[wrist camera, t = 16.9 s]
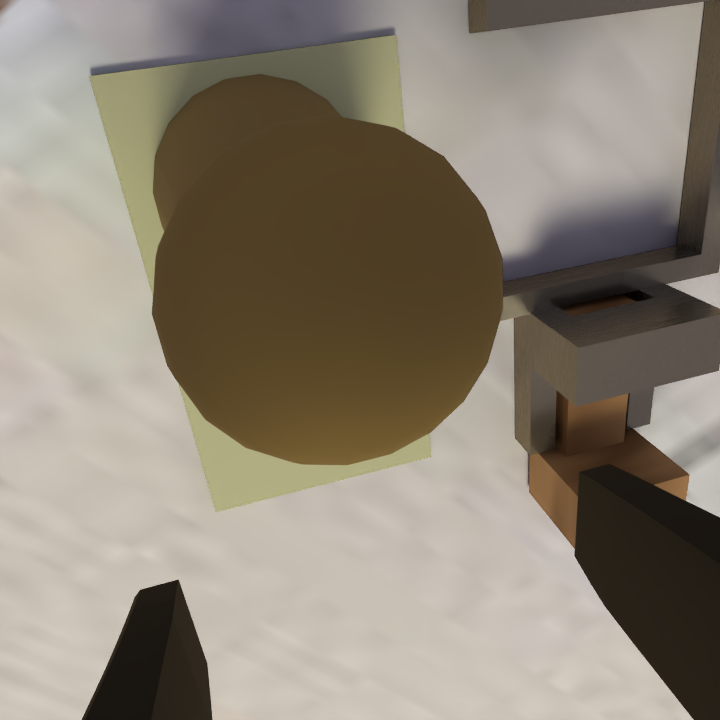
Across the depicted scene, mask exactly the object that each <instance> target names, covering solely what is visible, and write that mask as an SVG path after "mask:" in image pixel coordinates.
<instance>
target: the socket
mask: <svg viewBox="0 0 720 720" xmlns="http://www.w3.org/2000/svg"><path fill="white" fill-rule="evenodd" d="M704 1H705V6H704V15H703V24H702V32H701V41H700V50H699V58H698V67H697V75H696V84H695V93H694V101H693V110H692V119H691V127H690V136H689V144H688V153H687V162H686V170H685V179H684V188H683V196H682V205H681V213H680V222H679V231H678V239H677V246H672V247H668V248H663V249H658V250H653V251H649V252H644V253H639V254H634V255H630V256H625V257H620V258H615V259H611V260H606V261H601V262H596V263H592V264H587V265H582V266H578V267H573V268H568V269H563V270H559V271H554V272H549V273H544V274H540V275H535V276H530V277H525V278H521V279H516V280H511V281H506V282H503V310H502V314H501V318H500V321H502V320H506V319H511V318H514V342H515V439H516V440H517V441H518V442H519V443H520V444H521V445H522V447H523V448H524V449H525V450H526V451H527V452H528V453H529V454H530V455H534V454H537V453H541V452H545V451H549V450H553V449H555V428H556V392H557V391H558V392H560V393H561V394H562V395H563V396H564V397H565V398H566V399H568V400H569V401H570V402H571V403H572V404H573V405H574V406H576V407H577V406H581V405H585V404H589V403H593V402H597V401H601V400H605V399H609V398H613V397H617V396H621V395H625V394H628V402H627V413H626V424H625V429H626V430H628V429H632V428H636V427H640V426H643V425H647V424H650V417H651V408H652V399H653V390H654V387H656V386H660V385H664V384H668V383H672V382H676V381H680V380H684V379H688V378H692V377H696V376H700V375H704V374H708V373H712V372H716V371H719V365H720V309H719V308H717V307H714V306H712V305H710V304H708V303H706V302H703V301H701V300H699V299H697V298H695V297H692V296H690V295H688V294H686V293H684V292H681V291H679V290H677V289H675V288H673V287H670V286H668V285H666V284H668V283H673V282H677V281H682V280H686V279H691V278H695V277H700V276H704V275H709V274H713V273H718V271H719V265H720V0H468V5H469V33H476V32H484V31H492V30H499V29H507V28H514V27H521V26H529V25H536V24H543V23H550V22H558V21H565V20H572V19H580V18H587V17H594V16H602V15H609V14H616V13H624V12H631V11H638V10H646V9H653V8H660V7H667V6H675V5H682V4H689V3H697V2H704ZM619 294H622V295H624V296H626V297H628V298H630V299H632V300H634V301H636V302H633V303H629V304H624V305H620V306H616V307H611V308H607V309H602V310H598V311H593V312H589V313H585V314H580V315H576V316H571V315H569V314H568V313H566V312H565V311H563V310H562V309H560V307H565V306H569V305H574V304H578V303H583V302H587V301H592V300H596V299H601V298H605V297H610V296H614V295H619Z"/></svg>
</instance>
